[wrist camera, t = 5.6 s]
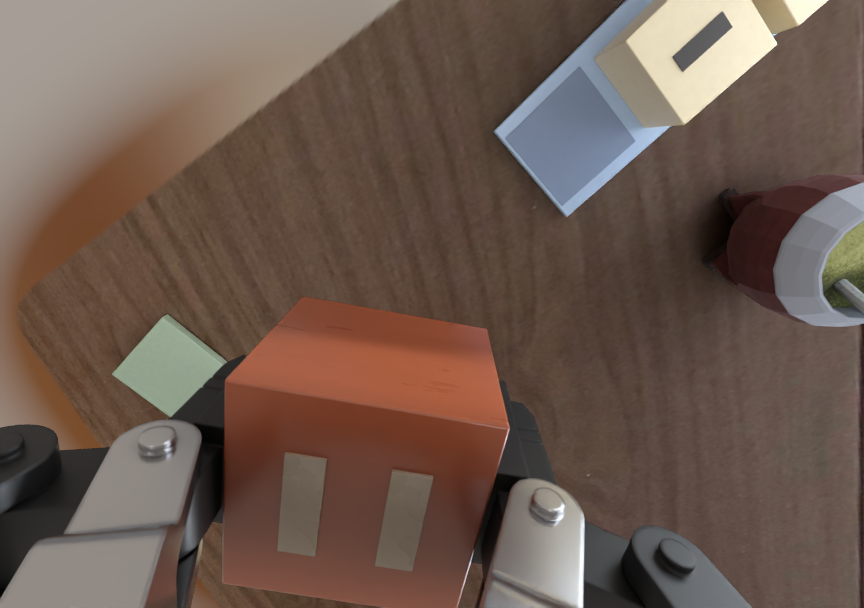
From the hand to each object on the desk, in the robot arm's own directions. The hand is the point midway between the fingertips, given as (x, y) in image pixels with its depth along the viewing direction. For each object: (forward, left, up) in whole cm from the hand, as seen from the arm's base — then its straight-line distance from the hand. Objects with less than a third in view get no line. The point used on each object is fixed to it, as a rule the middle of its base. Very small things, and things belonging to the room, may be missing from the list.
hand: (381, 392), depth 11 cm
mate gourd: (+13, +15, -16) cm, 26 cm away
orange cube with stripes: (0, 0, 0) cm, 0 cm away
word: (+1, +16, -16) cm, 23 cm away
